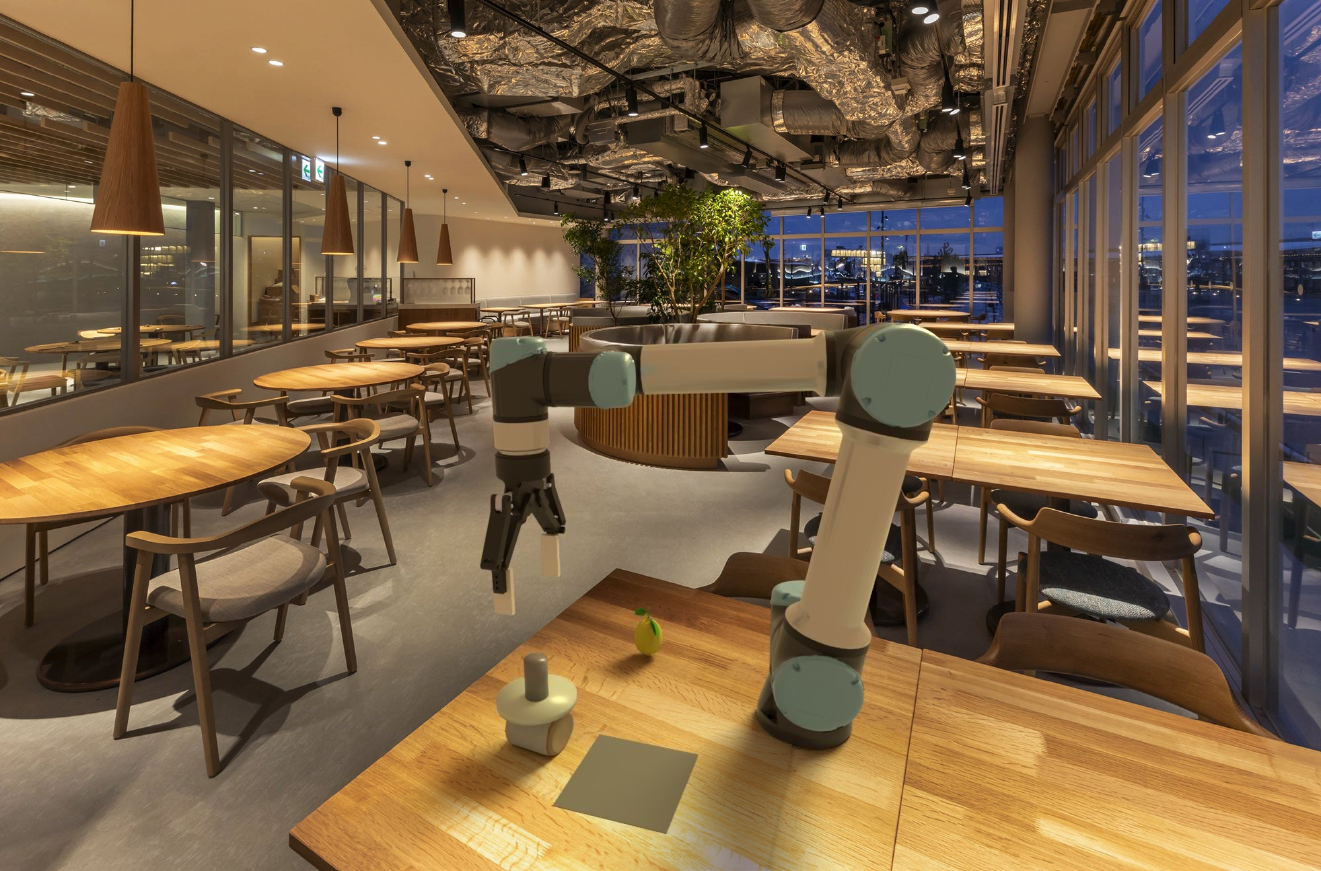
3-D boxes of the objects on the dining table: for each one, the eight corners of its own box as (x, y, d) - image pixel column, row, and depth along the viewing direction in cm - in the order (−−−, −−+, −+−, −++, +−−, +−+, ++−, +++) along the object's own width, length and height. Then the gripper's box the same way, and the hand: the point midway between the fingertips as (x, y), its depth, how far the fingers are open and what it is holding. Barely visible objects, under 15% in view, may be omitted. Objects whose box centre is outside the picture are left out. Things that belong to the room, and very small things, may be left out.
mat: (698, 757, 100) (698, 754, 100) (666, 836, 85) (666, 833, 85) (599, 737, 105) (599, 734, 104) (552, 808, 90) (552, 805, 90)
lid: (589, 686, 105) (588, 644, 104) (556, 731, 94) (555, 686, 92) (520, 674, 108) (518, 634, 107) (480, 717, 97) (478, 673, 96)
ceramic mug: (550, 769, 97) (549, 721, 96) (504, 754, 101) (502, 707, 99) (587, 729, 107) (587, 684, 106) (544, 716, 110) (543, 673, 109)
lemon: (634, 646, 133) (634, 598, 131) (664, 647, 132) (664, 600, 130) (630, 663, 126) (629, 614, 124) (661, 665, 126) (660, 615, 124)
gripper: (540, 432, 105) (546, 559, 109) (444, 468, 82) (456, 628, 86) (584, 434, 103) (588, 564, 107) (498, 471, 80) (507, 636, 84)
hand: (529, 593), depth 97 cm, fingers open, 13 cm apart
